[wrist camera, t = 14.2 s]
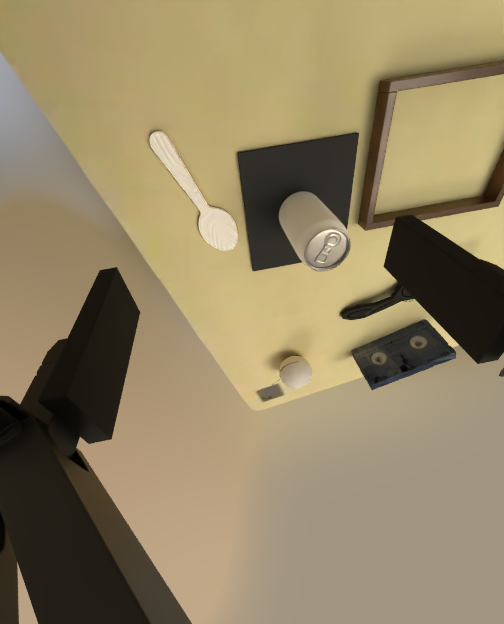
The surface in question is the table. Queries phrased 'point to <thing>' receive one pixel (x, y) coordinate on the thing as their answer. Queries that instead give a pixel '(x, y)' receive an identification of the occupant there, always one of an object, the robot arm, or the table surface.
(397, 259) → the robot arm
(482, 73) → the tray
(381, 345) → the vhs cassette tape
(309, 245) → the can
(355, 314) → the hairbrush
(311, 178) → the mat
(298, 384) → the seamed sphere
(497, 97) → the table surface
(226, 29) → the table surface
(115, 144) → the table surface
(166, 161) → the spoon
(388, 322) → the table surface
